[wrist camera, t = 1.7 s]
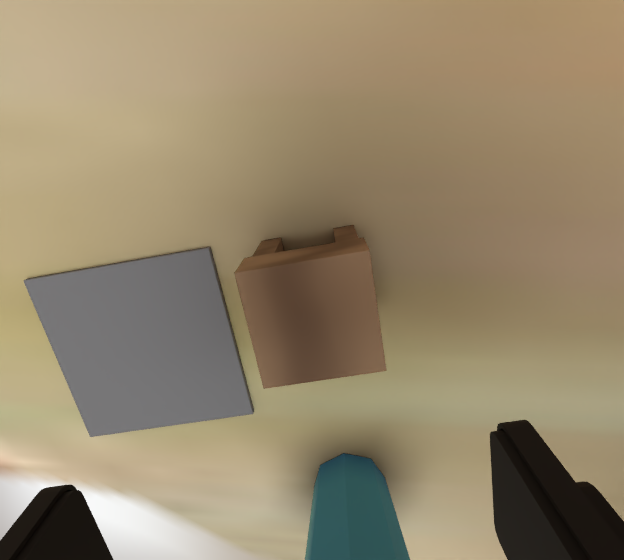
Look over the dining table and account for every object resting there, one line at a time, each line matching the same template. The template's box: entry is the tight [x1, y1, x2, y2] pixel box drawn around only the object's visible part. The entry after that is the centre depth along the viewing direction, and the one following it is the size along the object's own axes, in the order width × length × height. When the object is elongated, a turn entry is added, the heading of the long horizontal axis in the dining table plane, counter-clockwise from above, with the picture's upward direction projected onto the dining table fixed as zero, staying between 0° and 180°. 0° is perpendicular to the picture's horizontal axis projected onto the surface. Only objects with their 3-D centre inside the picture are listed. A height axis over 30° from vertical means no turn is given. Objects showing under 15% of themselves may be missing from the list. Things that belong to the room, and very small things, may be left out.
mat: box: [24, 247, 254, 437], centre depth 27 cm, size 12×12×1 cm
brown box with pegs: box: [235, 225, 386, 389], centre depth 22 cm, size 6×6×7 cm
